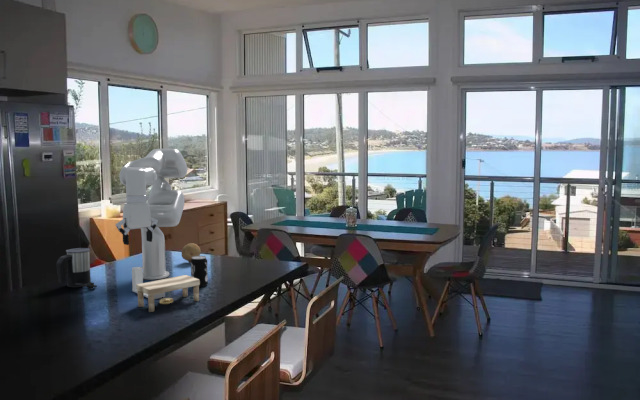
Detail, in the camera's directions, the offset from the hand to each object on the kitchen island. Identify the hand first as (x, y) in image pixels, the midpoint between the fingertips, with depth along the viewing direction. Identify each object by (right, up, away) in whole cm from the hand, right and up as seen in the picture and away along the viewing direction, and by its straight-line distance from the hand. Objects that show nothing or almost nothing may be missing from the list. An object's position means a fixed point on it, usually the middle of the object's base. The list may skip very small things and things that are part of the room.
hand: (138, 242), depth 213 cm
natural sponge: (+9, -14, +49) cm, 51 cm away
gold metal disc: (+15, -21, -14) cm, 30 cm away
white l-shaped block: (+4, -20, -3) cm, 20 cm away
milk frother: (-25, -19, +7) cm, 32 cm away
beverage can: (+23, -19, +8) cm, 30 cm away
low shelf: (+17, -21, -15) cm, 31 cm away
